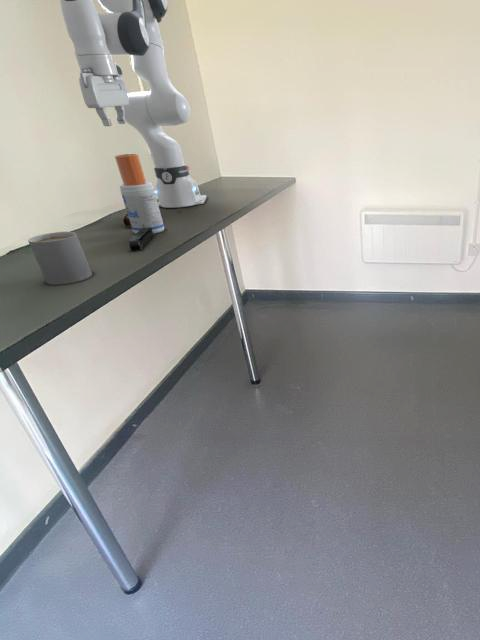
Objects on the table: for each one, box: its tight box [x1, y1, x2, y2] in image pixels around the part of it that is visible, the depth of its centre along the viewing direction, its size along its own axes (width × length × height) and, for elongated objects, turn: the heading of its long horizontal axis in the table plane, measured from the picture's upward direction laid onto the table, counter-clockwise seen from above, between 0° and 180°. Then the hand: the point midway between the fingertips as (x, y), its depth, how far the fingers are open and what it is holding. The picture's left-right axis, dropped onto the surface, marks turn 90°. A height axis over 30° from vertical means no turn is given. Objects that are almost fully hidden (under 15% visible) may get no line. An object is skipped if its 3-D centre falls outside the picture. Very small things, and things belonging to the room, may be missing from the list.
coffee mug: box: [28, 231, 93, 286], centre depth 118 cm, size 13×10×10 cm
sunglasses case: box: [122, 213, 132, 228], centre depth 171 cm, size 18×7×7 cm
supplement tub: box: [119, 181, 165, 235], centre depth 154 cm, size 10×10×15 cm
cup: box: [114, 153, 147, 185], centre depth 148 cm, size 6×6×8 cm
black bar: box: [128, 227, 155, 252], centre depth 145 cm, size 18×3×3 cm, turn 11°
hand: (115, 124), depth 143 cm, fingers open, 8 cm apart
